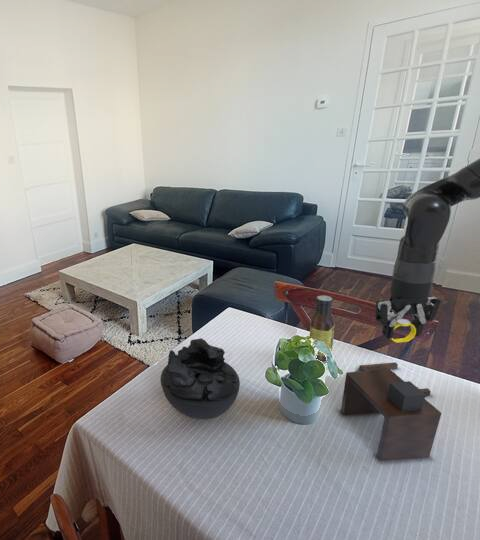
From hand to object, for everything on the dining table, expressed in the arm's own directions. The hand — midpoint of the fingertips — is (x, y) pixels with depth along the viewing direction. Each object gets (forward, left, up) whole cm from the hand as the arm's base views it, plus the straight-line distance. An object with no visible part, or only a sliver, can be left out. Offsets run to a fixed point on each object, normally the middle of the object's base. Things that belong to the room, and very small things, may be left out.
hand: (401, 335), depth 87 cm
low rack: (0, 0, -14) cm, 14 cm away
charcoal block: (+14, +20, -2) cm, 25 cm away
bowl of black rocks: (+53, +4, -15) cm, 55 cm away
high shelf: (+14, +16, -14) cm, 26 cm away
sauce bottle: (+12, -14, -15) cm, 24 cm away
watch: (0, 0, -2) cm, 2 cm away
